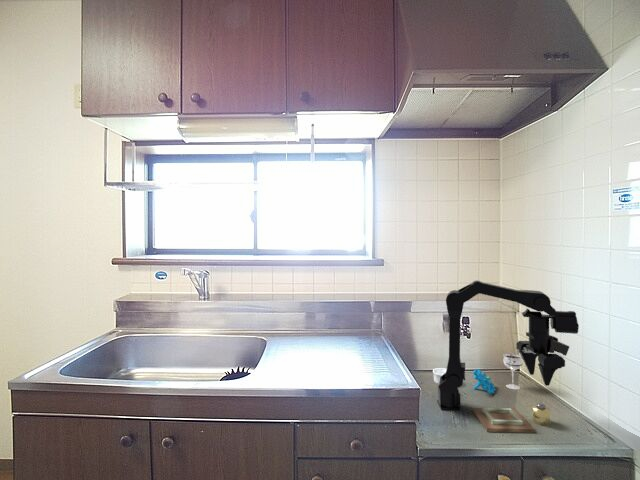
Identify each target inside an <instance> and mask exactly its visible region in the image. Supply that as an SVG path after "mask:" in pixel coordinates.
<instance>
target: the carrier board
mask: <svg viewBox="0 0 640 480" xmlns="http://www.w3.org/2000/svg"><path fill="white" fill-rule="evenodd" d="M471 411H472V412H473V414H474V415H475V417H476V418H477V420H478V421H479V423H480V424H481V425H482V427H483V428H484V429H485V431H486V432H490V433H491V432H493V433H494V432H495V433H527V434H528V433H532V434H534V433H535V434H536V428H535V427H534V426H533V425H532V424H531V423H530V422H529V421H528V420H527V419H526V418H525V417H524V416H523V415H522V414H521V413H520V412H519V411H518V409H516V408H515V407H476V406H475V407H472V408H471Z"/></svg>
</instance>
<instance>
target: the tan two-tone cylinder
mask: <svg viewBox="0 0 640 480" xmlns="http://www.w3.org/2000/svg"><path fill="white" fill-rule="evenodd" d="M531 420H532V423H534V424H536V425H538V426H546V427H548V426H550V425H551V407H548V406H546V404H544V403H541V402H539V403H536V404H532V406H531Z"/></svg>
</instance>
